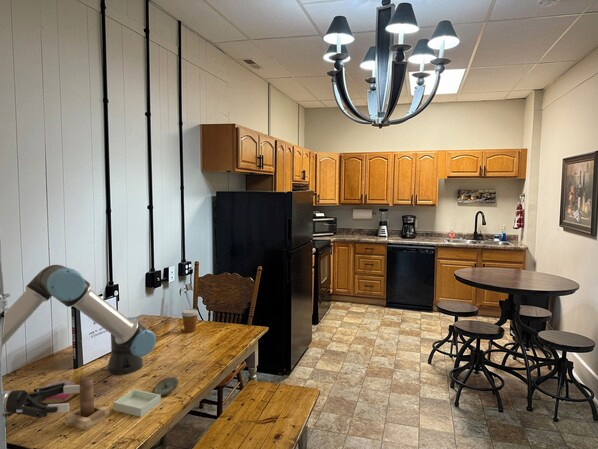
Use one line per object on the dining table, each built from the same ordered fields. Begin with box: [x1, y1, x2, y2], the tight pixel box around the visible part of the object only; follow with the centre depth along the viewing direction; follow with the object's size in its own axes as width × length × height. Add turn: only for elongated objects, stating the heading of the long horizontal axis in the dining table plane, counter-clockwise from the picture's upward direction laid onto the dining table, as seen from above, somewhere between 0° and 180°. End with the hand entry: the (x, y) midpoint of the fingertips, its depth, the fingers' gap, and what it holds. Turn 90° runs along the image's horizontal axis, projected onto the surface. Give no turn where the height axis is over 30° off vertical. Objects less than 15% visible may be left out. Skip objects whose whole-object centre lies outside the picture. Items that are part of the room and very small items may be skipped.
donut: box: [40, 379, 77, 405], centre depth 165 cm, size 14×13×5 cm
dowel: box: [79, 376, 95, 418], centre depth 149 cm, size 4×4×15 cm
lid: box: [152, 376, 179, 397], centre depth 171 cm, size 11×10×5 cm
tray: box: [112, 388, 162, 417], centre depth 159 cm, size 13×11×3 cm
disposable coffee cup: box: [181, 308, 199, 334], centre depth 244 cm, size 10×10×12 cm
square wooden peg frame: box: [64, 403, 110, 431], centre depth 149 cm, size 10×10×3 cm
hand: (76, 397), depth 147 cm, fingers open, 13 cm apart
